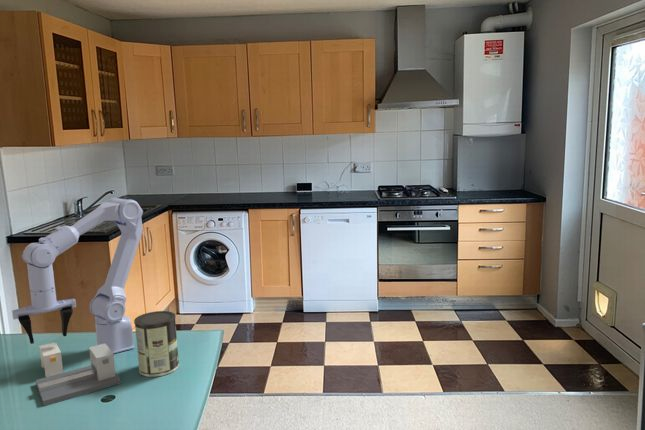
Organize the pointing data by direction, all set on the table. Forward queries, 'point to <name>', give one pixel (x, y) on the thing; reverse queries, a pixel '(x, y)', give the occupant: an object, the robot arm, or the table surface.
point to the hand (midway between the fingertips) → (48, 338)
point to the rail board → (80, 378)
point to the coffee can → (156, 343)
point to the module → (51, 359)
